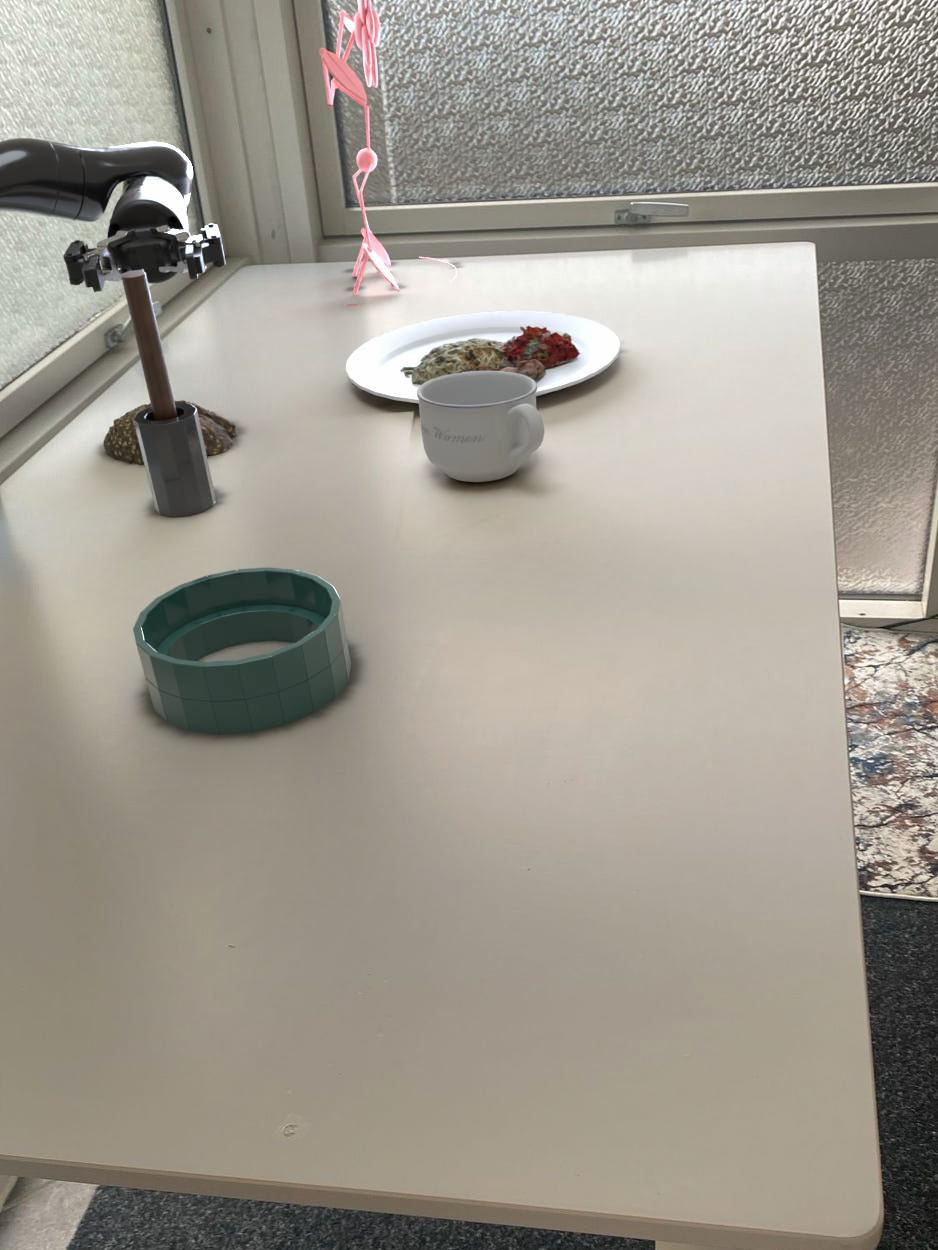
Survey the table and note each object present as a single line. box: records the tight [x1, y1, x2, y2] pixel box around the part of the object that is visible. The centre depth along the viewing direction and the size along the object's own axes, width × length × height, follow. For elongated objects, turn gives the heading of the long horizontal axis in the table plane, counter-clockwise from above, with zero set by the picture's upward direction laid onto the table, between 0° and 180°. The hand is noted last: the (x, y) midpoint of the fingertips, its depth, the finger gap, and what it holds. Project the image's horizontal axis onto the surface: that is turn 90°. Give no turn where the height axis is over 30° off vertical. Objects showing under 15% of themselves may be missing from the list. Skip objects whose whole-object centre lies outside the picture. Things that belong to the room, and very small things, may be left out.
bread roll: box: [103, 399, 238, 466], centre depth 134 cm, size 13×12×5 cm
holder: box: [134, 403, 217, 518], centre depth 119 cm, size 5×5×9 cm
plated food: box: [345, 310, 621, 404], centre depth 146 cm, size 30×30×3 cm
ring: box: [132, 566, 352, 735], centre depth 94 cm, size 14×14×6 cm
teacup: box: [417, 371, 545, 483], centre depth 121 cm, size 14×11×8 cm
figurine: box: [318, 0, 461, 307], centre depth 167 cm, size 15×26×35 cm, turn 5°
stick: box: [121, 271, 178, 421], centre depth 116 cm, size 2×2×20 cm
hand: (143, 273), depth 118 cm, fingers open, 8 cm apart
